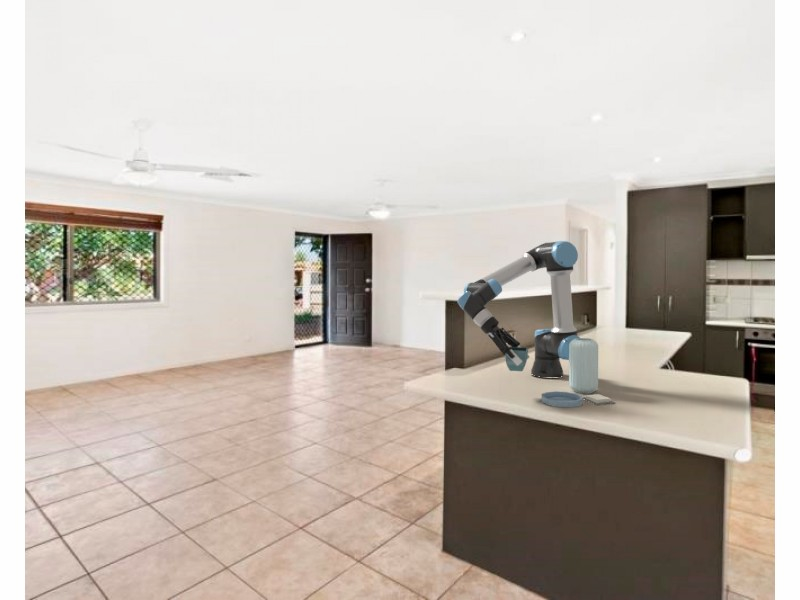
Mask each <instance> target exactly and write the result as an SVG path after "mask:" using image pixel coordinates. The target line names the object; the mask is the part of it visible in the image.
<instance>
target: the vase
mask: <svg viewBox="0 0 800 600" xmlns="http://www.w3.org/2000/svg"><path fill="white" fill-rule="evenodd" d="M568 385H569V387H570V389H571V390H573V392H575V391H576V393H578V392H580V394H592V393H594V392H595V391H597V389H598V388H599V344H598V342H597V341H596V340H594V339H593V338H586V337H580V338H575V339H574V340H572V341H571V342H570V344H569V360H568Z"/></svg>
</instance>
